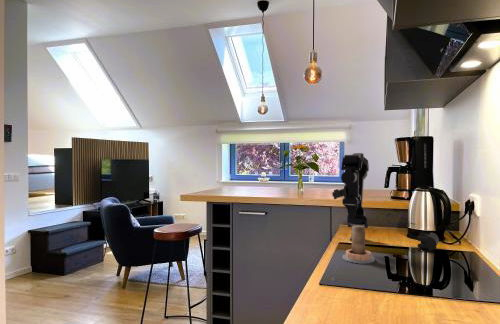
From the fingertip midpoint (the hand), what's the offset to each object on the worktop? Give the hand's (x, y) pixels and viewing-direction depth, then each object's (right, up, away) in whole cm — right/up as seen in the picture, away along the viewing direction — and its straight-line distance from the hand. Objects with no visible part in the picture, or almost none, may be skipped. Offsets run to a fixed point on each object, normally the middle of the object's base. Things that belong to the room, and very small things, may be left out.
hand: (351, 218), depth 155 cm
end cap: (+32, -13, -4) cm, 35 cm away
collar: (-3, -13, -18) cm, 22 cm away
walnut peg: (-3, -12, -18) cm, 22 cm away
